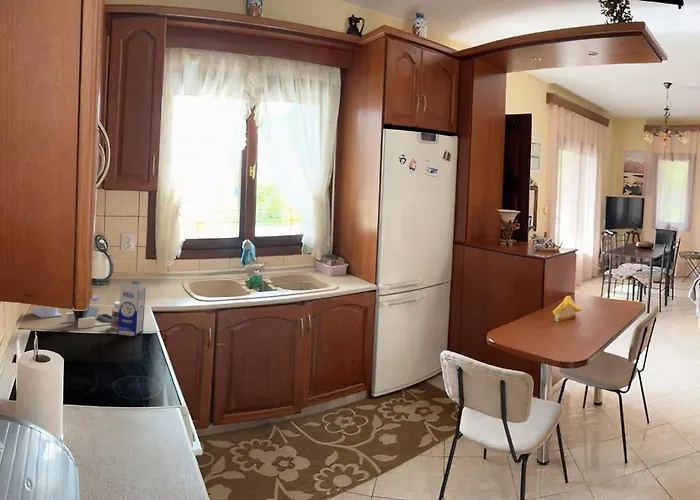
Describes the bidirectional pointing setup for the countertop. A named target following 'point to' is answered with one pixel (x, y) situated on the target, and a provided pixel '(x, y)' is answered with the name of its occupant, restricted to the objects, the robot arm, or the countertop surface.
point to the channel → (83, 321)
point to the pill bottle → (115, 315)
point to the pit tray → (105, 318)
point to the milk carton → (131, 309)
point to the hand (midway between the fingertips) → (78, 320)
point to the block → (90, 312)
